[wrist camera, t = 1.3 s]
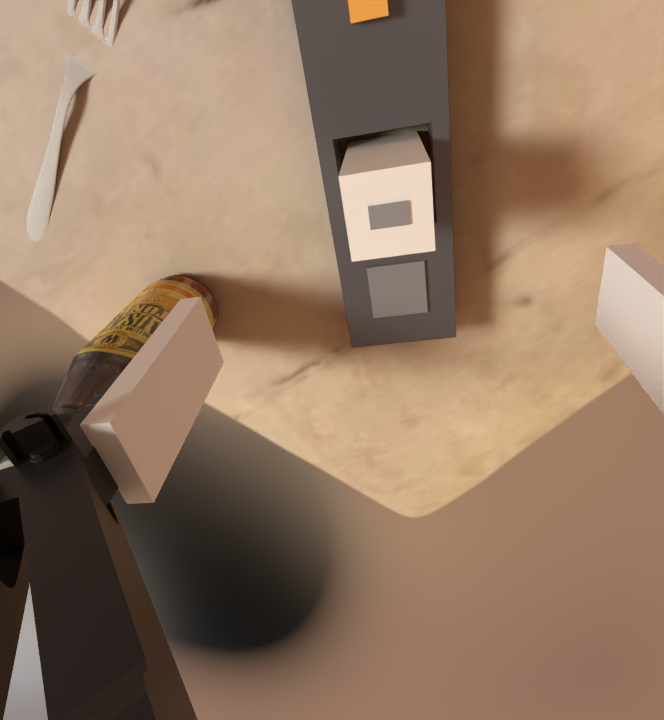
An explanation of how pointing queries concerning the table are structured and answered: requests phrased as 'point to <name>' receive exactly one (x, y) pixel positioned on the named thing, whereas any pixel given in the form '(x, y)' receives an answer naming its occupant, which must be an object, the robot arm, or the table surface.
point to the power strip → (374, 114)
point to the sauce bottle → (122, 343)
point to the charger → (387, 197)
